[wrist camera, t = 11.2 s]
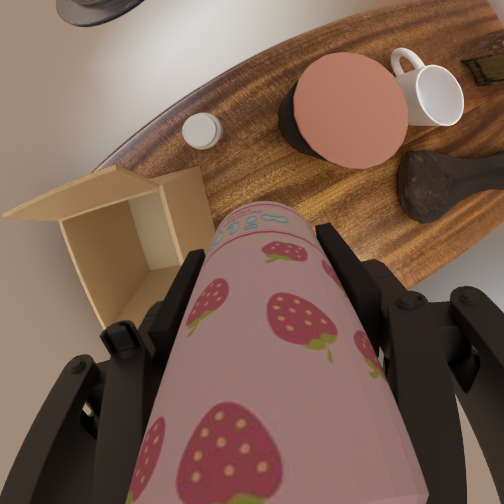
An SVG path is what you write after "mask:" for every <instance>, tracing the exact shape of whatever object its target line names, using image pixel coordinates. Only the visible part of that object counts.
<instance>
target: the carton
mask: <svg viewBox="0 0 504 504" xmlns="http://www.w3.org/2000/svg"><path fill="white" fill-rule="evenodd" d="M149 180H152V181H154V182H156V183H158V184H159V188H157V189H154V190H150V191H146V192H143V193H139V194H136V195H132V196H129V197H126V198H122V199H119V200H116V201H112V202H109V203H106V204H103V205H100V206H97V207H94V208H91V209H88V210H85V211H82V212H79V213H76V214H73V215H70V216H67V217H64V218H62V219H59V220H58V221H59V224H60V227H61V230H62V233H63V236H64V239H65V242H66V245H67V247H68V250H69V253H70V255H71V258H72V260H73V263H74V266H75V268H76V271H77V273H78V275H79V278H80V280H81V282H82V285H83V287H84V289H85V292H86V294H87V296H88V298H89V300H90V302H91V305H92V307H93V309H94V311H95V313H96V315H97V317H98V319H99V321H100V323H101V325H102V327H103V329H104V330H105V329H106V328H107V327H108V326H110V325H111V324H113V323H116V322H118V321H122V320H130V321H132V322H133V323H134V324H135V326H136V328H137V330H138V328H139V326H140V324H142V320H143V319H144V317H145V315H146V313H147V311H148V309H149V308H150V307H151V306H152V305H153V304H155V303H156V302H157V301H163V300H164V298H165V296H166V294H167V292H168V290H169V288H170V287H171V285H172V283H173V281H174V279H175V277H176V275H177V273H178V271H179V269H180V268H181V266H182V264H183V262H184V260H185V258H186V257H187V255H188V253H189V251H193V250H198V249H204V252H205V255H207V252H208V250H209V247H210V245H211V242H212V240H213V237H214V235H215V232H216V231H215V227H214V223H213V219H212V215H211V211H210V207H209V203H208V199H207V195H206V191H205V186H204V182H203V178H202V174H201V169H200V166H196V167H192V168H188V169H184V170H180V171H176V172H173V173H169V174H165V175H162V176H158V177H154V178H151V179H149Z"/></svg>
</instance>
